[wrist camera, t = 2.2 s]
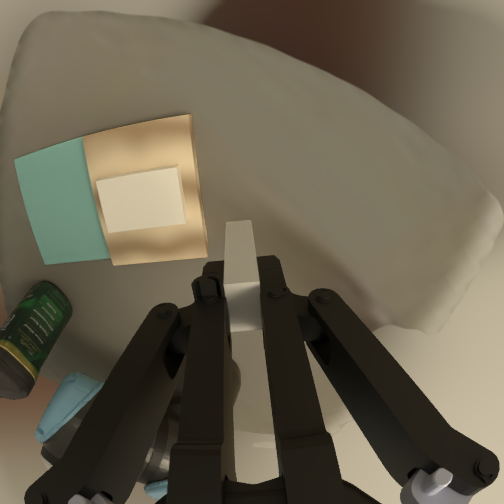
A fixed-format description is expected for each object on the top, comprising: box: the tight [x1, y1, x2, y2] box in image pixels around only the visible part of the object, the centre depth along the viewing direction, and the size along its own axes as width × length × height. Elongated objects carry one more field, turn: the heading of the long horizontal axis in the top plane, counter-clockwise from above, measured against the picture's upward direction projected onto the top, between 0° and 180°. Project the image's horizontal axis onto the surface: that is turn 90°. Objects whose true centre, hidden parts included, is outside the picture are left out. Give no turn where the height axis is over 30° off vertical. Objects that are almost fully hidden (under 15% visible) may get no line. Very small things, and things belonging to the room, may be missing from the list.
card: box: [96, 164, 187, 233], centre depth 29 cm, size 6×9×2 cm, turn 94°
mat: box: [14, 135, 111, 265], centre depth 32 cm, size 16×13×1 cm
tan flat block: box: [82, 114, 209, 266], centre depth 31 cm, size 16×12×2 cm
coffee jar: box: [0, 282, 72, 400], centre depth 31 cm, size 10×8×19 cm
